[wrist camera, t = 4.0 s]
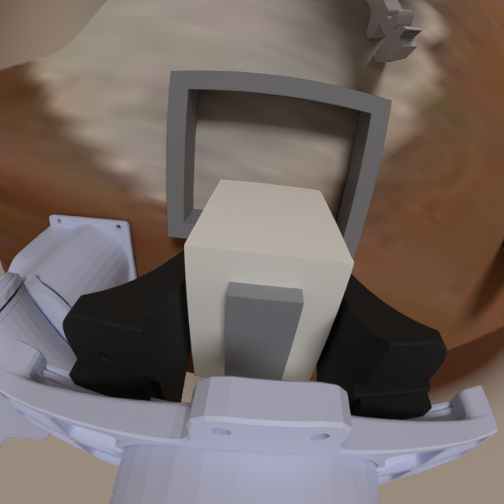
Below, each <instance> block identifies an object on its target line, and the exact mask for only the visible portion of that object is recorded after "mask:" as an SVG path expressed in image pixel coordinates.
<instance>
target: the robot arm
mask: <svg viewBox="0 0 504 504" xmlns="http://www.w3.org/2000/svg"><path fill="white" fill-rule="evenodd" d="M60 220H61V221H60ZM49 221H50V225H51V226H50V227H49V228H47V229H46V230H45V231H44V232H42V233H41V234H40V235H39V236H38V237H36V238H35V239H34V240H33V241H32V242H31V243H30V244H28V245H27V246H26V247H25V248H24V249H23V250H22V251H21V252H19V253H18V254H17V255H16V257H15V258H14V259H13V261H12V263H11V265H10V268H9V271H8V272H6V273H5V274H3V275H2V276H1V277H0V447H1V445H2V444H3V443H4V441H5V440H6V438H21V439H46V438H47V437H48V436H49V435H50V434H52V435H54V436H55V437H57V438H59V439H61V440H62V441H64V442H66V443H68V444H70V445H72V446H74V447H76V448H78V449H80V450H82V451H84V452H86V453H88V454H90V455H92V456H94V457H96V458H99V459H101V460H103V461H105V462H108V463H110V464H113V465H115V466H118V467H119V468H118V472H117V476H116V479H115V483H114V487H113V490H112V494H111V498H110V502H109V504H380V497H379V487H378V484H382V483H386V482H390V481H394V480H397V479H400V478H403V477H407V476H410V475H413V474H416V473H419V472H422V471H425V470H428V469H431V468H433V467H436V466H439V465H442V464H444V463H447V462H449V461H452V460H454V459H457V458H460V457H462V456H463V455H465V454H466V453H468V452H469V451H471V450H472V449H474V448H475V447H477V446H478V445H480V444H481V443H482V442H484V441H485V440H486V439H488V438H489V437H491V435H493V434H494V433H496V432H497V430H498V428H497V426H496V423H495V420H494V417H493V414H492V411H491V409H490V406H489V404H488V401H487V399H486V396H485V393H484V391H483V389H482V386H481V385H478V386H475V387H471V388H466V389H464V390H462V391H460V392H459V393H458V394H456V395H455V397H454V398H453V399H452V400H451V401H449V402H444V403H440V404H435V405H431V403H430V400H429V397H428V394H427V392H428V391H429V390H430V384H429V382H428V381H429V379H430V378H431V377H432V376H433V375H434V373H435V372H436V371H437V370H438V369H439V367H440V366H441V365H442V363H443V362H444V360H445V357H446V354H447V348H446V346H445V343H444V341H443V339H442V337H441V335H440V333H439V331H437V330H435V329H432V328H430V327H428V326H425V325H423V324H421V323H418V322H416V321H414V320H413V319H411V318H409V317H407V316H405V315H403V314H402V313H400V312H398V311H397V310H395V309H394V308H392V307H390V306H389V305H387V304H386V303H385V302H383V301H382V300H380V299H379V298H378V297H377V296H375V295H374V294H373V293H371V292H370V291H369V290H368V289H367V288H366V287H365V286H364V285H362V284H361V283H360V282H359V281H358V280H357V279H356V278H355V277H354V276H353V275H352V274H351V275H350V278H349V281H348V284H347V287H346V289H345V292H344V295H343V298H342V301H341V304H340V306H339V309H338V312H337V314H336V317H335V320H334V322H333V325H332V327H331V330H330V333H329V335H328V338H327V340H326V343H325V345H324V347H323V350H322V352H321V355H320V357H319V359H318V362H317V382H312V381H287V380H272V379H260V378H249V377H239V376H212V377H210V378H207V379H204V380H202V381H199V382H197V384H196V386H195V388H194V391H193V395H192V400H191V403H181V399H182V393H183V387H184V381H185V375H186V370H187V365H188V360H189V356H190V351H191V337H190V327H189V316H188V303H187V290H186V274H185V255H184V250H183V251H181V252H180V253H179V254H178V255H176V256H175V257H173V258H172V259H170V260H169V261H167V262H166V263H164V264H163V265H161V266H160V267H158V268H156V269H155V270H153V271H151V272H149V273H147V274H145V275H143V276H141V277H139V278H137V273H136V267H135V260H134V254H133V246H132V238H131V230H130V225H129V223H128V222H126V221H119V220H109V219H98V218H87V217H76V216H65V215H51V216H50V218H49ZM118 225H120V227H121V228H119V227H118Z"/></svg>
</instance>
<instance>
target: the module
mask: <svg viewBox="0 0 504 504" xmlns="http://www.w3.org/2000/svg"><path fill="white" fill-rule="evenodd" d="M184 255H185V274H186V290H187V303H188V316H189V327H190V337H191V347H192V356H193V365H194V373H195V376H200V377H207V378H210V377H212V376H239V377H249V378H260V379H272V380H287V381H309V380H310V377H311V375H312V373H313V371H314V368H315V366H316V364H317V362H318V359H319V357H320V355H321V352H322V350H323V347H324V345H325V343H326V340H327V338H328V335H329V333H330V330H331V327H332V325H333V322H334V320H335V317H336V314H337V312H338V309H339V306H340V304H341V301H342V298H343V295H344V292H345V289H346V287H347V284H348V281H349V278H350V275H351V272H352V269H353V265H354V262H353V259H352V257H351V255H350V253H349V250H348V248H347V246H346V244H345V241H344V239H343V237H342V235H341V233H340V230H339V228H338V226H337V224H336V222H335V220H334V218H333V216H332V214H331V211H330V209H329V207H328V205H327V203H326V201H325V199H324V197H323V195H322V193H321V191H319V190H312V189H305V188H297V187H289V186H281V185H273V184H263V183H254V182H244V181H233V180H220V182H219V184H218V185H217V187H216V189H215V191H214V192H213V194H212V196H211V197H210V199H209V201H208V203H207V204H206V206H205V208H204V210H203V212H202V213H201V215H200V217H199V219H198V221H197V222H196V224H195V226H194V228H193V230H192V231H191V233H190V235H189V237H188V239H187V241H186V243H185V244H184Z"/></svg>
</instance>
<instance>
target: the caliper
mask: <svg viewBox="0 0 504 504" xmlns="http://www.w3.org/2000/svg"><path fill="white" fill-rule="evenodd" d="M365 1H366V2H368V4H369V6H370V8H371V14H370V19H369V23H368V28H367V32H366V35H367V38H368V40H381V39H382V38H383V37H384V36H385V37H386V40H385V42H384V43H383V44H382V46H381V47H380V48H379V50H378V51H377V52H376V54H375V55H374V56H373V58H374V60H375V62H392V61H396V60H401V59H405V58H406V57H407V56H408V55H409V54H410V53H411V52H412V51H413V50H414V49H415V48H416V47H417V45H416V42H415V39H414V37H415V36H416V35H417V34H418V33H419V32H421V31H422V30H421V29H420V28H418V27H410V25H411V23H412V19H413V11H412V10H402V7H401V5H400V3H399V1H398V0H365Z"/></svg>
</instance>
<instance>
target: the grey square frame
mask: <svg viewBox="0 0 504 504" xmlns="http://www.w3.org/2000/svg"><path fill="white" fill-rule="evenodd" d="M198 90H216V91H235V92H248V93H259V94H268V95H276V96H284V97H291V98H298V99H304V100H310V101H315V102H321V103H326V104H331V105H335V106H340V107H344V108H349V109H353V110H357V111H359V118H358V123H357V129H356V135H355V140H354V146H353V151H352V156H351V161H350V166H349V170H348V175H347V180H346V184H345V189H344V193H343V198H342V202H341V206H340V210H339V214H338V218H337V222H336V224H337V226H338V228H339V230H340V233H341V235H342V237H343V239H344V241H345V244H346V246H347V248H348V250H349V253H350V255H351V257H352V259H353V258H354V255H355V252H356V249H357V246H358V243H359V239H360V236H361V233H362V229H363V226H364V223H365V219H366V216H367V212H368V208H369V205H370V201H371V197H372V193H373V189H374V185H375V181H376V177H377V173H378V169H379V164H380V160H381V155H382V151H383V146H384V141H385V136H386V131H387V126H388V120H389V114H390V108H391V102H392V101H391V100H388V99H385V98H382V97H378V96H375V95H371V94H368V93H364V92H360V91H357V90H353V89H349V88H344V87H340V86H336V85H331V84H326V83H321V82H316V81H311V80H305V79H299V78H292V77H285V76H278V75H269V74H260V73H248V72H233V71H171V75H170V88H169V103H168V124H167V218H168V237H176V238H185V239H188V237H189V235H190V233H191V231H192V230H193V228H194V226H195V224H196V222H197V221H198V219H199V217H200V215H201V213H202V212H203V210H197V209H193V181H194V153H195V133H196V116H197V102H198Z"/></svg>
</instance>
